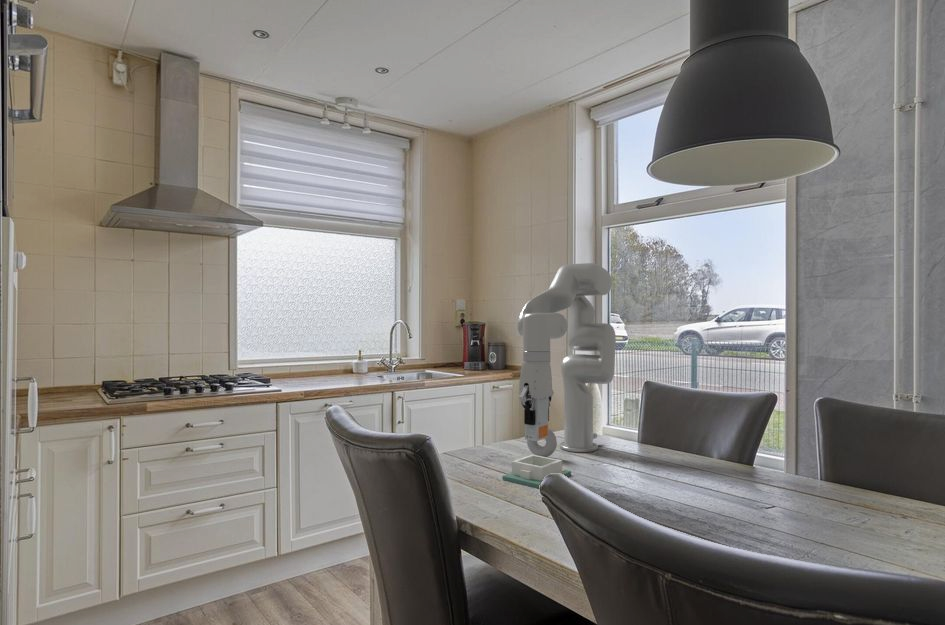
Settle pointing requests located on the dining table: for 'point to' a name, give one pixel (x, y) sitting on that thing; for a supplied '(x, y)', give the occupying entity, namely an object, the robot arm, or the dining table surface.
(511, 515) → the dining table surface
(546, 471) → the board
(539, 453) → the donut
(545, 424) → the skincare box
